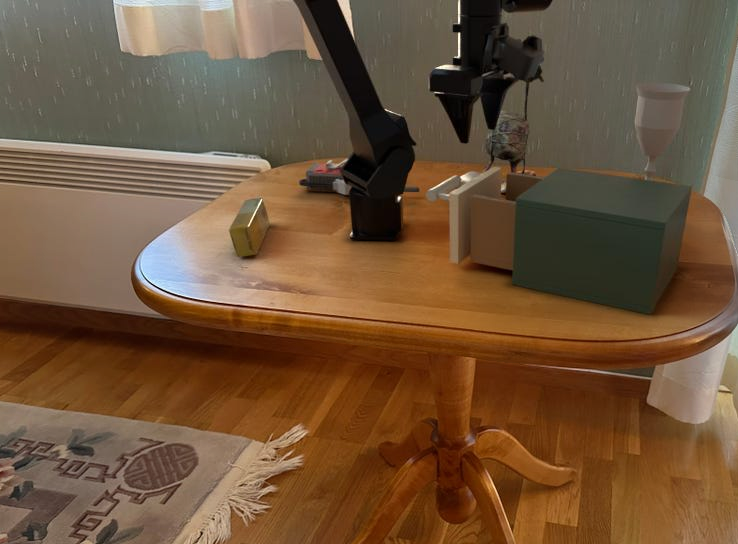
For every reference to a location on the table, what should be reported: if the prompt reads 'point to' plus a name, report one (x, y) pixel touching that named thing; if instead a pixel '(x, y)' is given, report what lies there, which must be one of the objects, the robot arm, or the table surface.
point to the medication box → (249, 227)
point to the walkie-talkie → (331, 179)
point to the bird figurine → (511, 137)
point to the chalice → (658, 118)
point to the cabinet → (599, 237)
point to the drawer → (483, 216)
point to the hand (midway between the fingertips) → (478, 136)
